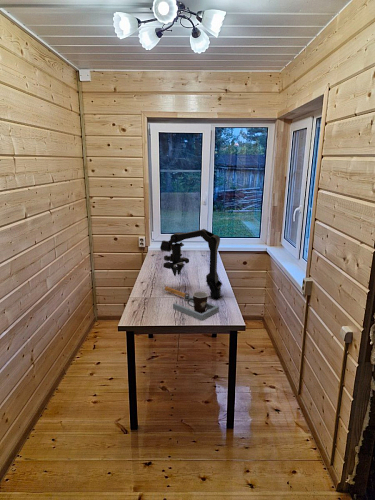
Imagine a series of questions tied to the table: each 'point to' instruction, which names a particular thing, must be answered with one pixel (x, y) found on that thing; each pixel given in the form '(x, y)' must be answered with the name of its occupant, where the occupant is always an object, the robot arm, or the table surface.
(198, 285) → the table surface
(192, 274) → the table surface
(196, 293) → the coffee mug
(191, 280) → the table surface
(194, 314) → the frame
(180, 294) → the orange bar
